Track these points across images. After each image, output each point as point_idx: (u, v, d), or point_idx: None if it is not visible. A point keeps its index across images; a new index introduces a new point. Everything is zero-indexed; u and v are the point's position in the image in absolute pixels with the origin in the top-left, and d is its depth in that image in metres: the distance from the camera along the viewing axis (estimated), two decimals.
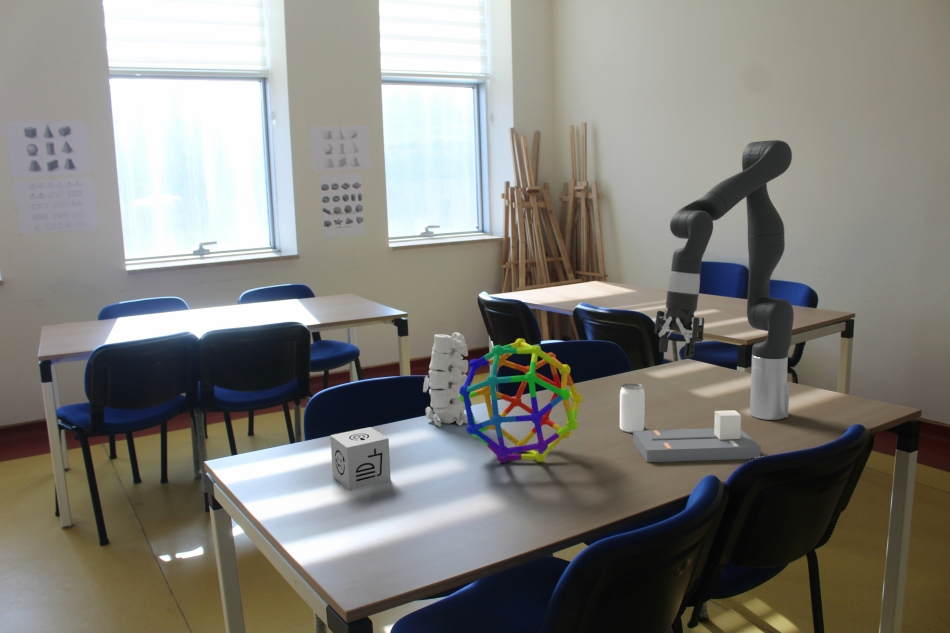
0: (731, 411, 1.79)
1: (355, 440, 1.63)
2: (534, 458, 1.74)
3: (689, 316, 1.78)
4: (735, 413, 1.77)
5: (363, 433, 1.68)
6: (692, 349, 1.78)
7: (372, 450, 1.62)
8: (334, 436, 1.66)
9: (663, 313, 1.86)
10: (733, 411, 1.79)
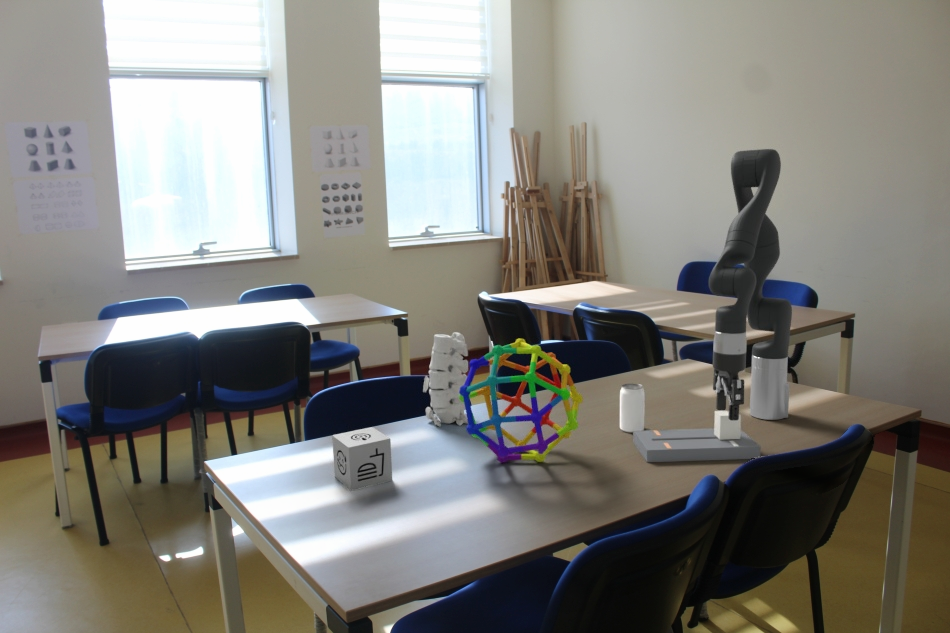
0: None
1: (357, 440, 1.63)
2: (534, 458, 1.74)
3: (731, 377, 1.72)
4: None
5: (365, 433, 1.68)
6: (735, 411, 1.72)
7: (374, 450, 1.62)
8: (336, 436, 1.66)
9: (719, 370, 1.81)
10: None
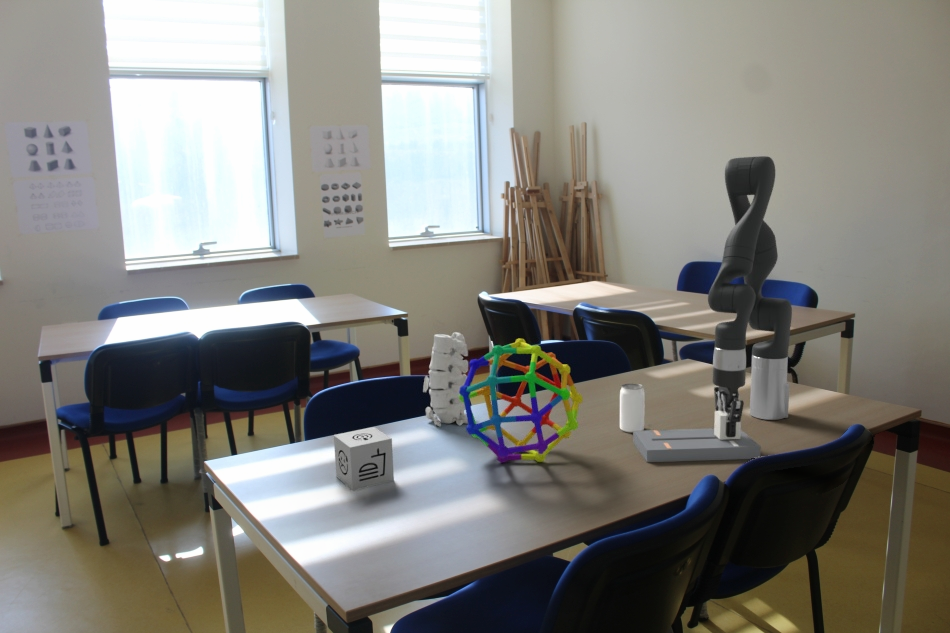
0: None
1: (358, 440, 1.63)
2: (534, 458, 1.74)
3: (731, 395, 1.73)
4: None
5: (366, 433, 1.68)
6: (732, 428, 1.75)
7: (375, 450, 1.62)
8: (337, 436, 1.67)
9: (719, 388, 1.82)
10: None
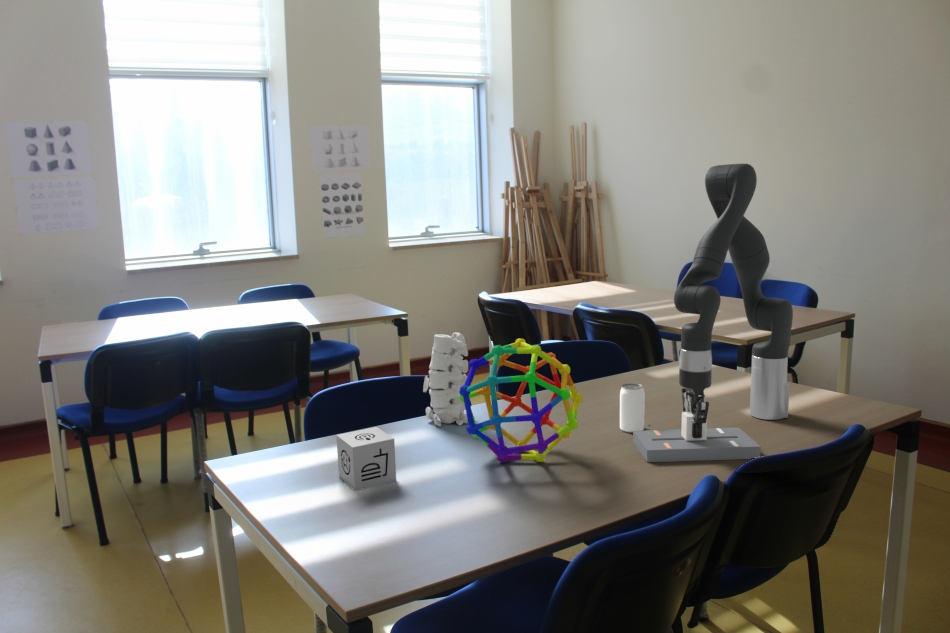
0: None
1: (361, 440, 1.63)
2: (534, 458, 1.74)
3: (696, 396, 1.73)
4: None
5: (369, 433, 1.68)
6: (698, 430, 1.75)
7: (378, 450, 1.62)
8: (340, 436, 1.67)
9: (686, 389, 1.82)
10: None
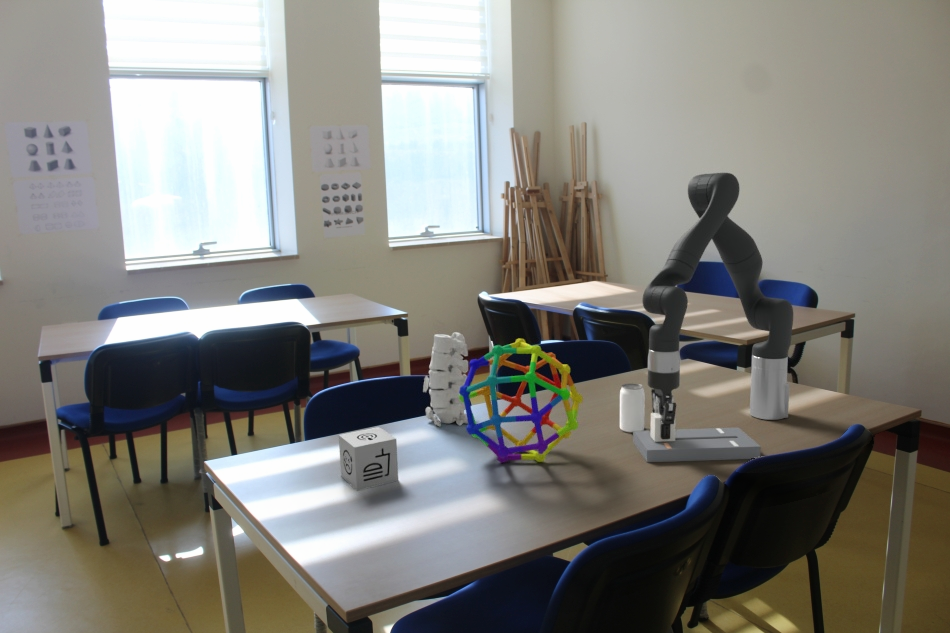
0: None
1: (363, 440, 1.63)
2: (534, 458, 1.74)
3: (664, 397, 1.73)
4: None
5: (371, 433, 1.68)
6: (667, 431, 1.75)
7: (380, 450, 1.62)
8: (342, 436, 1.67)
9: None
10: None
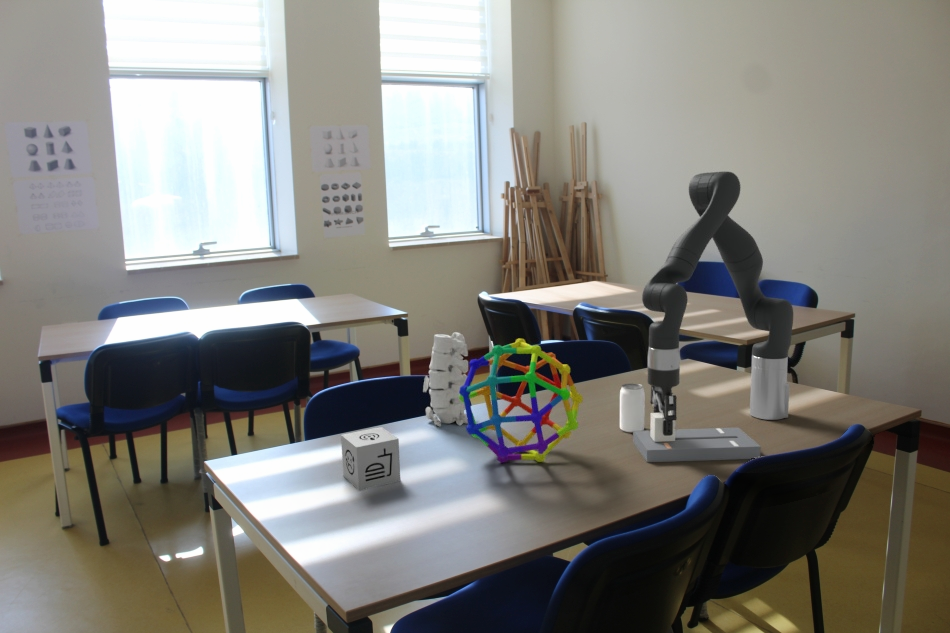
0: None
1: (365, 440, 1.63)
2: (534, 458, 1.74)
3: (664, 393, 1.73)
4: None
5: (373, 433, 1.68)
6: (669, 427, 1.73)
7: (382, 450, 1.62)
8: (344, 436, 1.67)
9: None
10: (669, 413, 1.79)
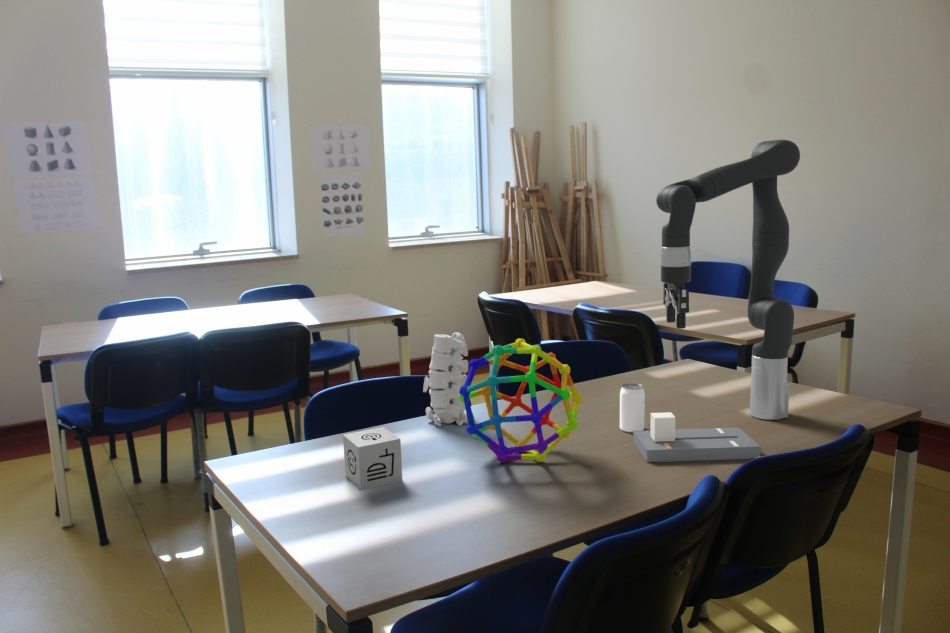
0: (667, 413, 1.79)
1: (367, 440, 1.63)
2: (534, 458, 1.74)
3: (677, 288, 1.85)
4: (670, 415, 1.77)
5: (376, 433, 1.68)
6: (682, 320, 1.85)
7: (384, 450, 1.62)
8: (346, 435, 1.67)
9: (668, 285, 1.94)
10: (669, 413, 1.79)
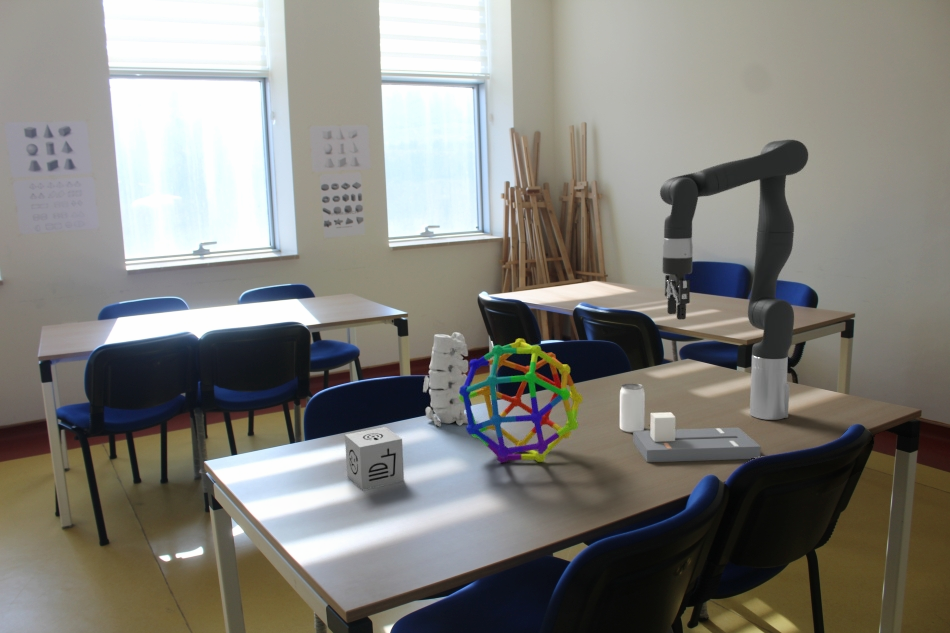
0: (667, 413, 1.79)
1: (369, 440, 1.63)
2: (534, 458, 1.74)
3: (678, 279, 1.87)
4: (670, 415, 1.77)
5: (377, 433, 1.68)
6: (682, 311, 1.87)
7: (385, 450, 1.62)
8: (348, 435, 1.67)
9: None
10: (669, 413, 1.79)
